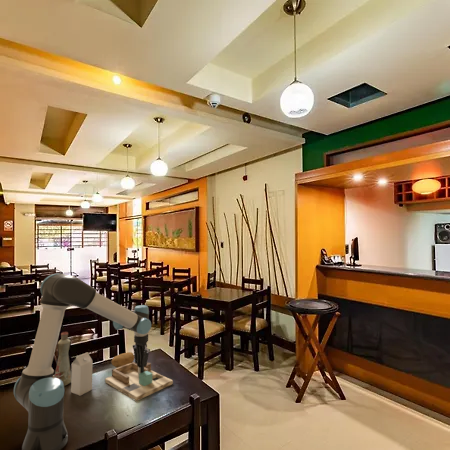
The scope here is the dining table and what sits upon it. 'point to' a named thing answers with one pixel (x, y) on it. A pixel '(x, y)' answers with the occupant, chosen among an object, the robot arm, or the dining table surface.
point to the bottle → (63, 360)
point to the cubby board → (135, 381)
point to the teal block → (145, 378)
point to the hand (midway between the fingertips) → (140, 378)
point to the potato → (122, 359)
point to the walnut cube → (148, 366)
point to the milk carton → (81, 374)
